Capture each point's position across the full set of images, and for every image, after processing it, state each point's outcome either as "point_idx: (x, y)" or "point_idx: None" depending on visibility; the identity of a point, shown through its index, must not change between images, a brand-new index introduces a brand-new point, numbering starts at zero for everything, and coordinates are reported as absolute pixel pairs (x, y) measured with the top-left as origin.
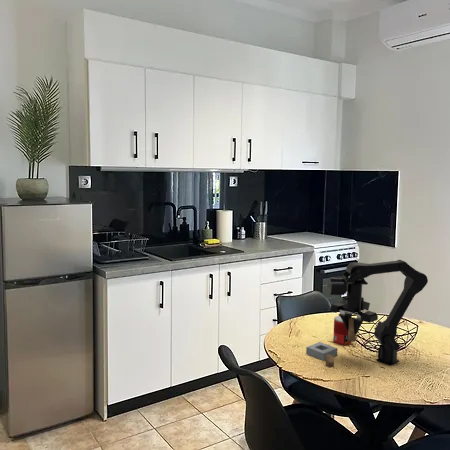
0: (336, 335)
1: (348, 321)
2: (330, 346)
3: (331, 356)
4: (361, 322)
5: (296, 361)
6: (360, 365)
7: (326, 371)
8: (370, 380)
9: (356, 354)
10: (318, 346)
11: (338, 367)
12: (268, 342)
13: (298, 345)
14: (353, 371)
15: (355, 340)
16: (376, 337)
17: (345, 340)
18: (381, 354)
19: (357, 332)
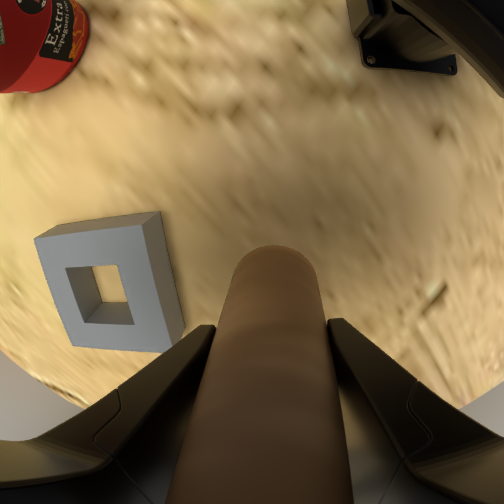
0: (10, 91)
1: (164, 472)
2: (101, 240)
3: None
4: (475, 455)
5: None
6: (351, 213)
7: None
8: (463, 314)
9: (214, 88)
10: (74, 287)
11: None
12: None
13: (11, 277)
14: (369, 308)
15: (315, 276)
16: (416, 15)
17: (64, 51)
18: (406, 48)
19: (353, 331)
